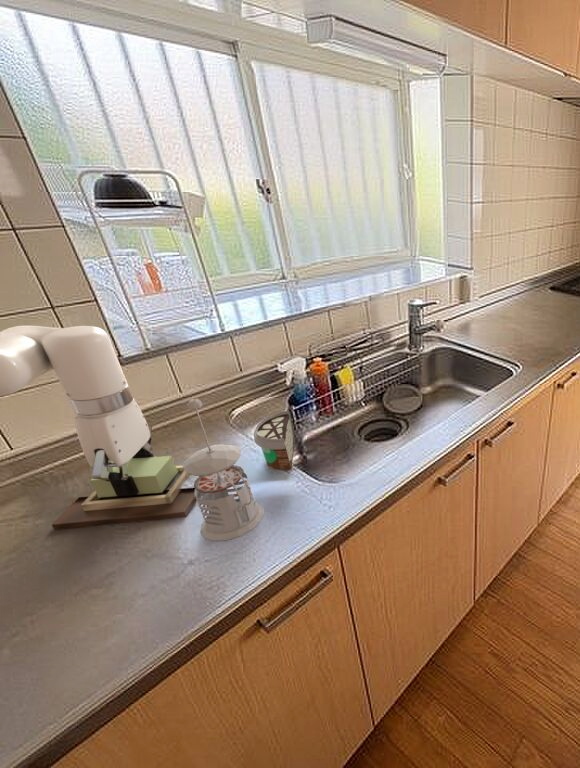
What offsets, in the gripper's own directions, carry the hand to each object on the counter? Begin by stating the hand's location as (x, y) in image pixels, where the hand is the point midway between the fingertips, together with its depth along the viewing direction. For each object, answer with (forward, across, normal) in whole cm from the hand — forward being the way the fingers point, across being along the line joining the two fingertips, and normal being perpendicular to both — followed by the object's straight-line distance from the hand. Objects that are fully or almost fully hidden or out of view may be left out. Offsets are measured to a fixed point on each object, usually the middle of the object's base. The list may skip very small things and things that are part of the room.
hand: (138, 481), depth 79 cm
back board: (+3, 0, 0) cm, 3 cm away
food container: (+3, -6, +22) cm, 23 cm away
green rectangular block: (+1, 0, 0) cm, 1 cm away
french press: (+3, +10, +19) cm, 22 cm away
